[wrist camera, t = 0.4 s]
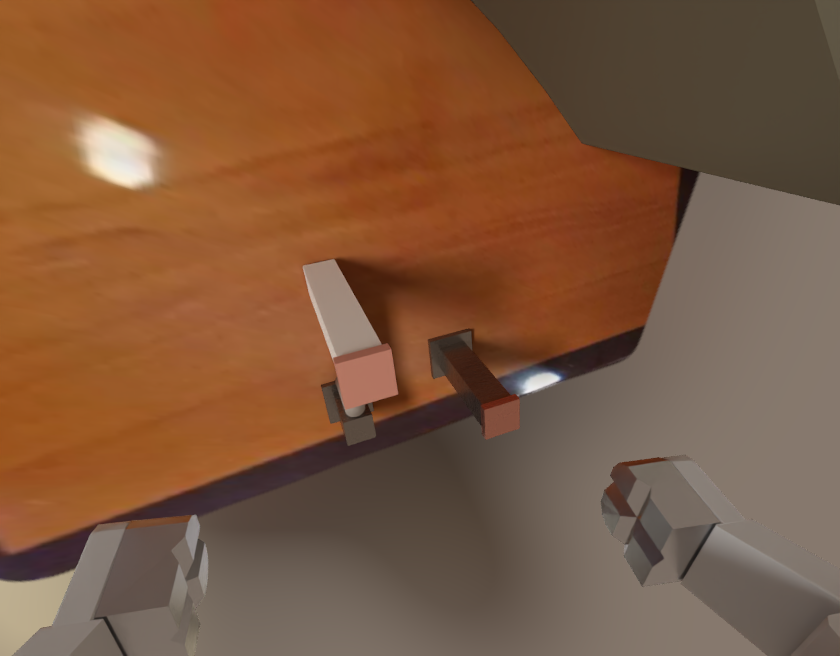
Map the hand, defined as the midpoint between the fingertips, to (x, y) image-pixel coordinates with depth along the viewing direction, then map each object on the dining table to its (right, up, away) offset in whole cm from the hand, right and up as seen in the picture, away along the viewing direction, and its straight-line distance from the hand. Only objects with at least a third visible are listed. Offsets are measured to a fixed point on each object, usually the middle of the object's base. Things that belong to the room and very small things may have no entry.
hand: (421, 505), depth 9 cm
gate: (-9, +4, +40) cm, 41 cm away
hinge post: (-8, -4, +45) cm, 46 cm away
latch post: (+3, +1, +47) cm, 47 cm away
